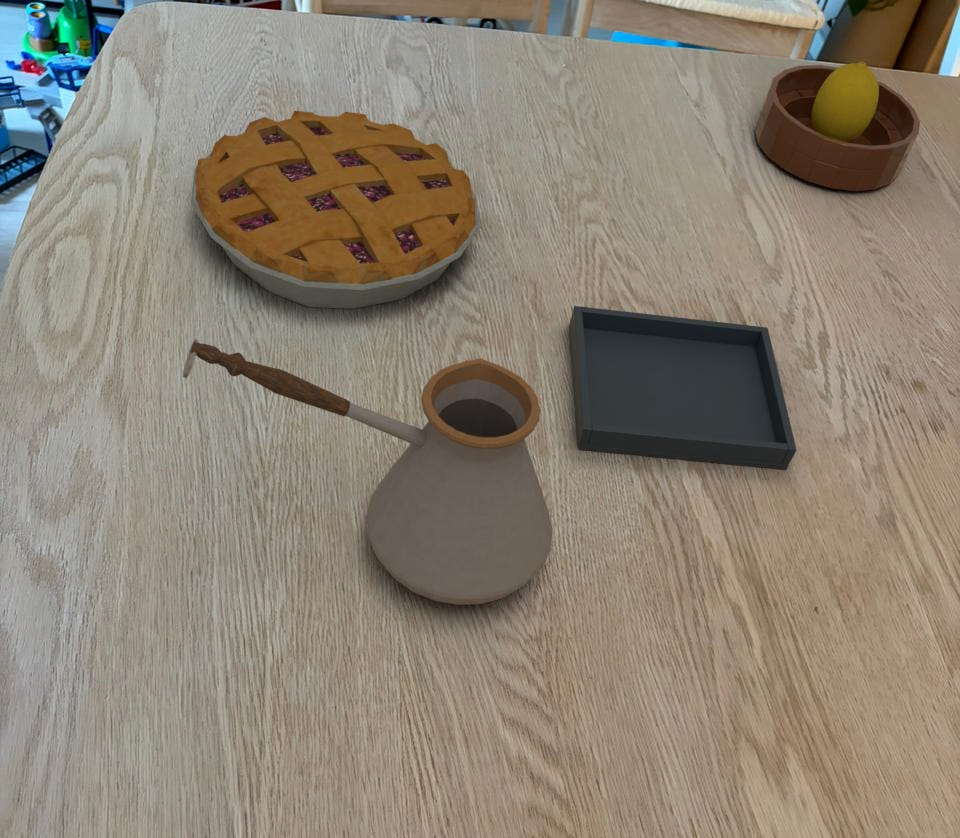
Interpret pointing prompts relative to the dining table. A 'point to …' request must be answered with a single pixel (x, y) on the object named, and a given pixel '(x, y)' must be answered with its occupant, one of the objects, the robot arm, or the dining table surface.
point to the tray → (678, 389)
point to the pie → (335, 208)
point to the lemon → (846, 102)
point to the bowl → (829, 159)
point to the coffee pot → (445, 479)
